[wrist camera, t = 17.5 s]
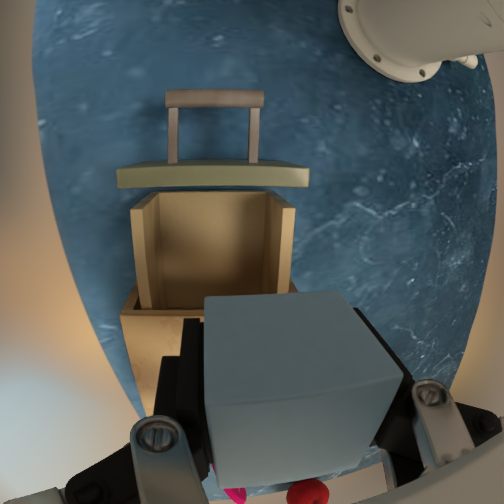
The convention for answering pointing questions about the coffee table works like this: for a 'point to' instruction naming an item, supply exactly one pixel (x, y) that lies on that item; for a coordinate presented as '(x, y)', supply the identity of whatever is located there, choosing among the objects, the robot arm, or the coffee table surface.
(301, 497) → the apple
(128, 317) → the cabinet
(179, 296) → the drawer
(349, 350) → the block
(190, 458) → the robot arm
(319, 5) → the coffee table surface
